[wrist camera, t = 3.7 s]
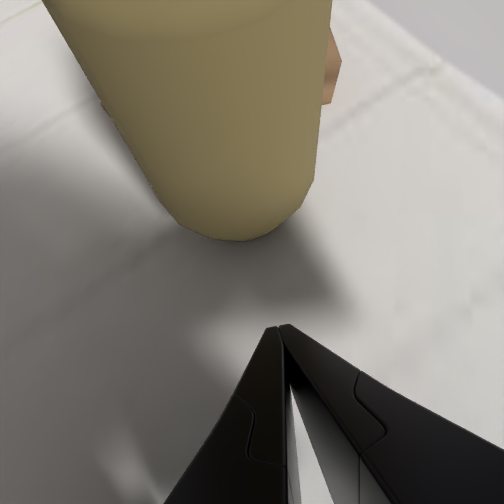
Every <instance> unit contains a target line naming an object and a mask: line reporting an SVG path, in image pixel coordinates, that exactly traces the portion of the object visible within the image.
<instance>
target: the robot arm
mask: <svg viewBox="0 0 504 504" xmlns="http://www.w3.org/2000/svg"><path fill="white" fill-rule="evenodd" d="M290 387H291V389H290ZM291 390H292V393H293V396H294V399H295V401H296V404H297V407H298V409H299V412H300V415H301V417H302V420H303V423H304V425H305V428H306V431H307V433H308V436H309V439H310V441H311V444H312V447H313V449H314V452H315V455H316V457H317V460H318V463H319V465H320V468H321V471H322V473H323V476H324V478H325V481H326V484H327V486H328V489H329V492H330V494H331V497H332V500H333V502H334V504H504V449H502V448H500V447H498V446H496V445H494V444H492V443H490V442H489V441H487V440H485V439H483V438H481V437H479V436H477V435H475V434H474V433H472V432H470V431H468V430H466V429H464V428H462V427H460V426H458V425H457V424H455V423H453V422H451V421H449V420H447V419H445V418H443V417H442V416H440V415H438V414H436V413H434V412H432V411H430V410H428V409H427V408H425V407H423V406H421V405H419V404H417V403H415V402H413V401H411V400H410V399H408V398H406V397H404V396H403V395H401V394H399V393H397V392H395V391H394V390H392V389H390V388H388V387H387V386H385V385H383V384H382V383H380V382H379V381H377V380H375V379H374V378H372V377H371V376H369V375H368V374H366V373H365V372H363V371H360V370H359V369H358V368H356V367H355V366H353V365H352V364H350V363H349V362H347V361H346V360H344V359H342V358H341V357H339V356H338V355H336V354H335V353H333V352H332V351H330V350H329V349H327V348H326V347H324V346H323V345H321V344H320V343H318V342H317V341H315V340H314V339H312V338H311V337H309V336H308V335H306V334H304V333H303V332H301V331H300V330H298V329H297V328H295V327H294V326H292V325H291V324H285V325H280V326H279V327H277V326H274V327H269V328H266V330H265V331H264V333H263V335H262V337H261V339H260V341H259V343H258V345H257V347H256V349H255V351H254V353H253V355H252V357H251V359H250V361H249V363H248V365H247V367H246V369H245V371H244V373H243V375H242V377H241V379H240V381H239V383H238V385H237V387H236V389H235V391H234V393H233V395H232V396H231V398H230V400H229V402H228V404H227V406H226V408H225V409H224V411H223V413H222V415H221V417H220V419H219V420H218V422H217V424H216V425H215V427H214V428H213V430H212V431H211V433H210V435H209V436H208V438H207V439H206V441H205V442H204V444H203V445H202V447H201V448H200V450H199V451H198V453H197V454H196V456H195V457H194V459H193V460H192V462H191V463H190V465H189V466H188V468H187V469H186V471H185V472H184V474H183V475H182V477H181V478H180V480H179V481H178V483H177V484H176V486H175V487H174V489H173V490H172V492H171V493H170V495H169V496H168V498H167V499H166V501H165V502H164V504H301V493H300V483H299V472H298V461H297V451H296V440H295V429H294V418H293V408H292V397H291Z"/></svg>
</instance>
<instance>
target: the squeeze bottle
mask: <svg viewBox="0 0 504 504" xmlns="http://www.w3.org/2000/svg"><path fill="white" fill-rule="evenodd" d="M42 2H43V3H44V5H45V7H46V8H47V10H48V12H49V13H50V15H51V17H52V19H53V20H54V22H55V24H56V25H57V27H58V29H59V30H60V32H61V34H62V36H63V37H64V39H65V41H66V42H67V44H68V46H69V47H70V49H71V51H72V53H73V54H74V56H75V58H76V59H77V61H78V63H79V64H80V66H81V68H82V70H83V71H84V73H85V75H86V76H87V78H88V80H89V81H90V83H91V85H92V87H93V88H94V90H95V92H96V93H97V95H98V97H99V98H100V100H101V102H102V104H103V105H104V107H105V109H106V110H107V112H108V114H109V115H110V117H111V119H112V121H113V122H114V124H115V126H116V127H117V129H118V131H119V132H120V134H121V136H122V138H123V139H124V141H125V143H126V144H127V146H128V148H129V149H130V151H131V153H132V155H133V156H134V158H135V160H136V161H137V163H138V165H139V166H140V168H141V170H142V172H143V173H144V175H145V177H146V178H147V180H148V182H149V183H150V185H151V187H152V189H153V190H154V192H155V194H156V195H157V197H158V199H159V200H160V202H161V203H162V204H163V206H164V207H165V208H166V209H167V210H168V211H169V213H170V214H171V215H172V216H173V217H174V219H175V220H176V221H177V222H178V223H179V224H180V225H182V226H184V227H186V228H188V229H191V230H193V231H195V232H197V233H199V234H201V235H203V236H206V237H208V238H213V239H220V240H229V241H248V240H251V239H254V238H257V237H260V236H263V235H265V234H267V233H269V232H270V231H272V230H273V229H275V228H276V227H277V226H279V225H280V224H281V223H282V222H283V221H285V220H286V219H287V218H288V217H289V216H290V215H292V214H293V213H294V212H295V211H296V210H298V209H299V208H300V207H301V205H302V203H303V201H304V199H305V197H306V195H307V193H308V191H309V189H310V186H311V184H312V182H313V180H314V173H315V163H316V153H317V144H318V134H319V124H320V115H321V105H322V95H323V86H324V76H325V66H326V57H327V47H328V37H329V28H330V18H331V8H332V0H42Z"/></svg>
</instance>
